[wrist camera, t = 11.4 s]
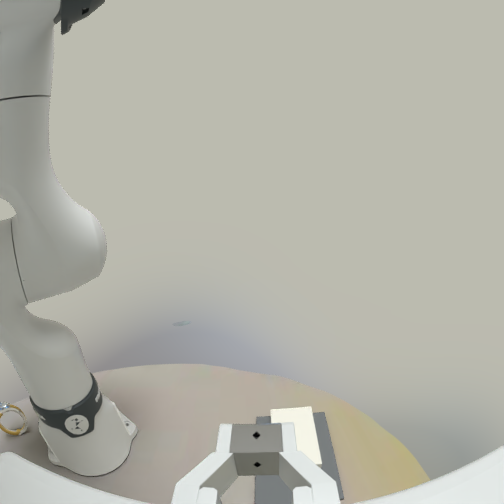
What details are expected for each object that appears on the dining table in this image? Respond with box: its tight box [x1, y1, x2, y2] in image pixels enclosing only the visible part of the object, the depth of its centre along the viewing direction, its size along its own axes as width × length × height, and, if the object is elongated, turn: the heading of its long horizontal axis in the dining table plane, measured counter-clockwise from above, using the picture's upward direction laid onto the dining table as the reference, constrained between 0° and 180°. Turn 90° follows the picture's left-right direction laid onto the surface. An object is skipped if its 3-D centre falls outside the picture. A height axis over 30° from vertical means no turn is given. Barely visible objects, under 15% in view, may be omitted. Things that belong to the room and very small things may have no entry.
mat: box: [255, 412, 344, 504], centre depth 36 cm, size 19×12×1 cm, turn 179°
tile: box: [271, 407, 322, 468], centre depth 39 cm, size 2×7×13 cm
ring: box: [0, 402, 27, 435], centre depth 32 cm, size 7×3×8 cm, turn 132°
